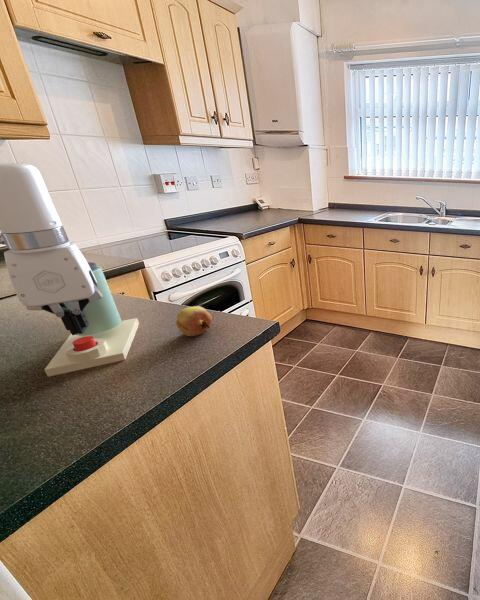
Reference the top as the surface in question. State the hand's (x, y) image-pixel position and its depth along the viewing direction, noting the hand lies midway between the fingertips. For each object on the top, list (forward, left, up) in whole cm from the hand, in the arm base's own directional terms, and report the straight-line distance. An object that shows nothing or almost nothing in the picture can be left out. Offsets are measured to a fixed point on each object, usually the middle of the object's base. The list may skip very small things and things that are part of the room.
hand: (80, 331), depth 66 cm
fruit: (+19, +3, -7) cm, 20 cm away
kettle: (0, +10, -3) cm, 10 cm away
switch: (0, 0, -4) cm, 4 cm away
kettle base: (0, +6, -7) cm, 9 cm away
